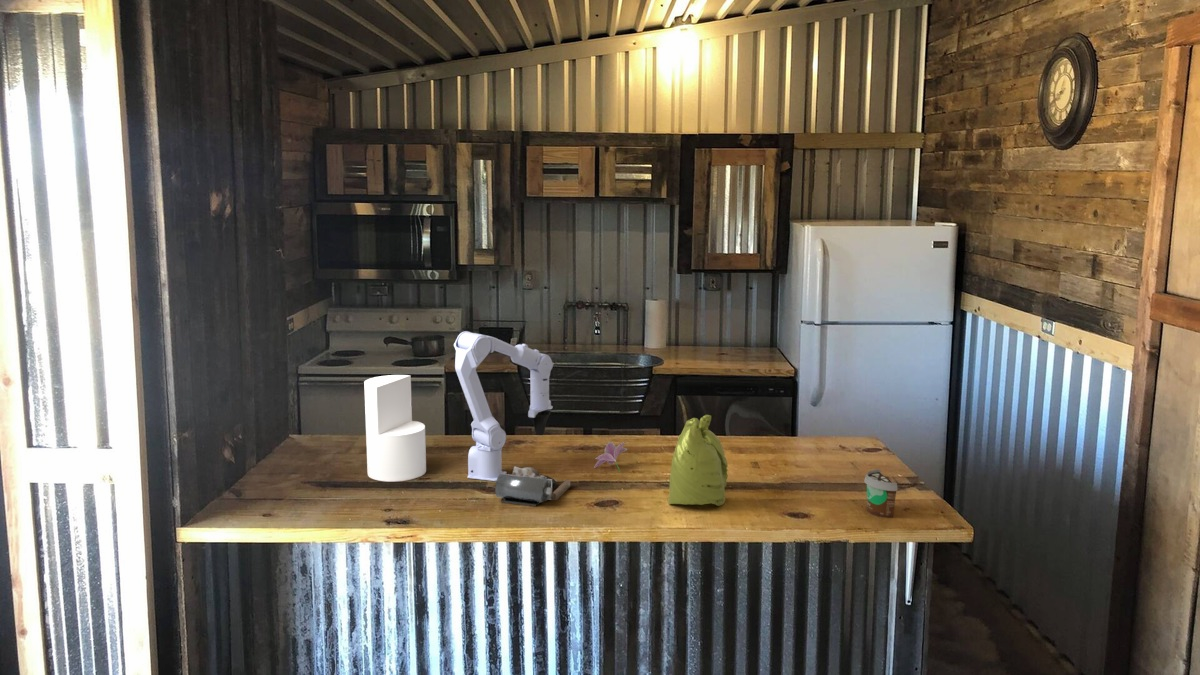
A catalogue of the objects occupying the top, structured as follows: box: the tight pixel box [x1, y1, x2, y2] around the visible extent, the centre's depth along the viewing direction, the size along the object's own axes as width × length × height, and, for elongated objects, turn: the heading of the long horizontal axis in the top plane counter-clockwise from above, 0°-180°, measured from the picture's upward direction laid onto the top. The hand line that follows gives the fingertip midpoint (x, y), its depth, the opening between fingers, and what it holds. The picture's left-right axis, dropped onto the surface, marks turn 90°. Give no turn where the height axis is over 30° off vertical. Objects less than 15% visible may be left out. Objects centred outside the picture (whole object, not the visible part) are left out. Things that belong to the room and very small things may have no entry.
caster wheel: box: [511, 466, 557, 492], centre depth 259 cm, size 7×11×10 cm
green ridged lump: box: [667, 414, 729, 507], centre depth 254 cm, size 25×16×24 cm, turn 168°
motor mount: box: [494, 473, 571, 507], centre depth 255 cm, size 17×19×7 cm
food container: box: [863, 468, 898, 519], centre depth 244 cm, size 12×6×10 cm, turn 5°
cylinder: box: [363, 374, 427, 482], centre depth 272 cm, size 17×17×28 cm
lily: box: [593, 440, 628, 473], centre depth 277 cm, size 12×12×10 cm
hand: (539, 434), depth 281 cm, fingers closed
